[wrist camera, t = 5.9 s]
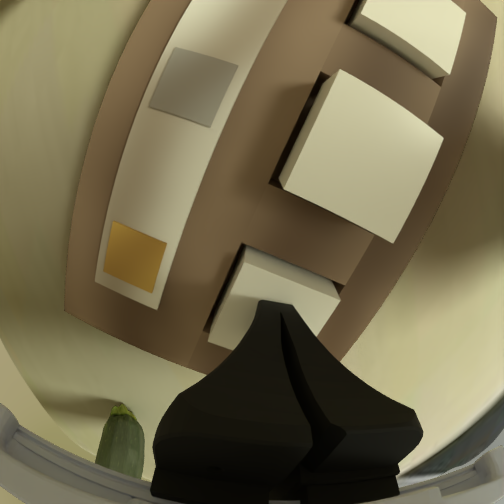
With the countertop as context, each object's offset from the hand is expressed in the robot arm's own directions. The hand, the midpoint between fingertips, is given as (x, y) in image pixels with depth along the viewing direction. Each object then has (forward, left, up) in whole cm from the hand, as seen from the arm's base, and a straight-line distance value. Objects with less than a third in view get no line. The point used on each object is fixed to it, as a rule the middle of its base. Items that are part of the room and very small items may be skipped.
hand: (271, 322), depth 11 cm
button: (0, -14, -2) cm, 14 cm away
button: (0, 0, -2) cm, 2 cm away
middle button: (0, -7, -1) cm, 7 cm away
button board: (+2, -7, -3) cm, 8 cm away
